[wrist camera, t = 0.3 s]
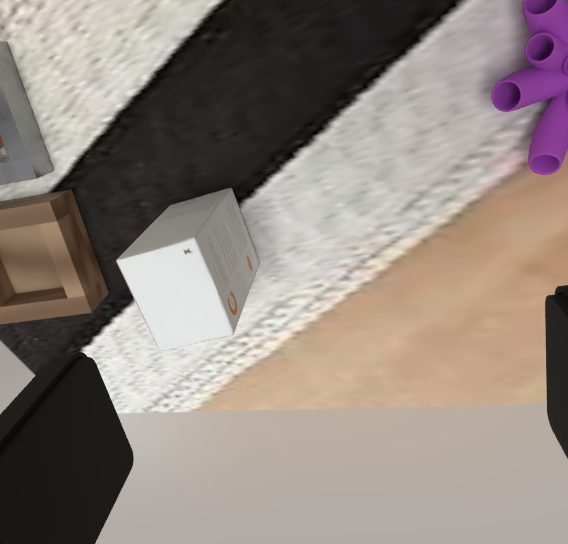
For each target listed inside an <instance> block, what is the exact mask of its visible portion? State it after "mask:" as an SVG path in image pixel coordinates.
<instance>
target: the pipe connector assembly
mask: <svg viewBox="0 0 568 544" xmlns="http://www.w3.org/2000/svg"><path fill="white" fill-rule="evenodd" d="M523 14H524V18H525V21H526V23H527V25H528V28H529V30H530V32H531V33H532V35H533V36H532V37H531V38H530V39H529V40H528V42H527V44H526V46H525V56H526V59H527V60H528V61H529V62H530V64H531V65H533V66H532V67H528V68H525V69H522V70H519V71H517V72H514V73H512V74H510V75H508V76H507V77H505V78H504V79H502V80H501V81H499V82H498V83H497V84H496V86H495V87H494V88H493V91H492V95H491V99H492V103H493V104H494V106H495V107H496V108H497V109H498V110H500V111H503V112H509V111H513V110H517V109H520V108H523V107H525V106H528V105H531V104H534V103H537V102H540V101H543V100H547V99H550V98H552V99H551V101H550V102H549V104H548V106H547V107H546V109H545V111H544V113H543V115H542V116H541V118H540V121H539V123H538V125H537V128H536V130H535V132H534V135H533V137H532V141H531V145H530V148H529V157H528V158H529V166H530V168H531V170H532V171H533V172H535V173H537V174H542V175H548V174H552V173H554V172H556V171H557V170H558V169H559V168H560V167H561V165H562V162H563V160H564V157H565V154H566V151H567V148H568V3H567V1H566V0H523Z"/></svg>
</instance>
